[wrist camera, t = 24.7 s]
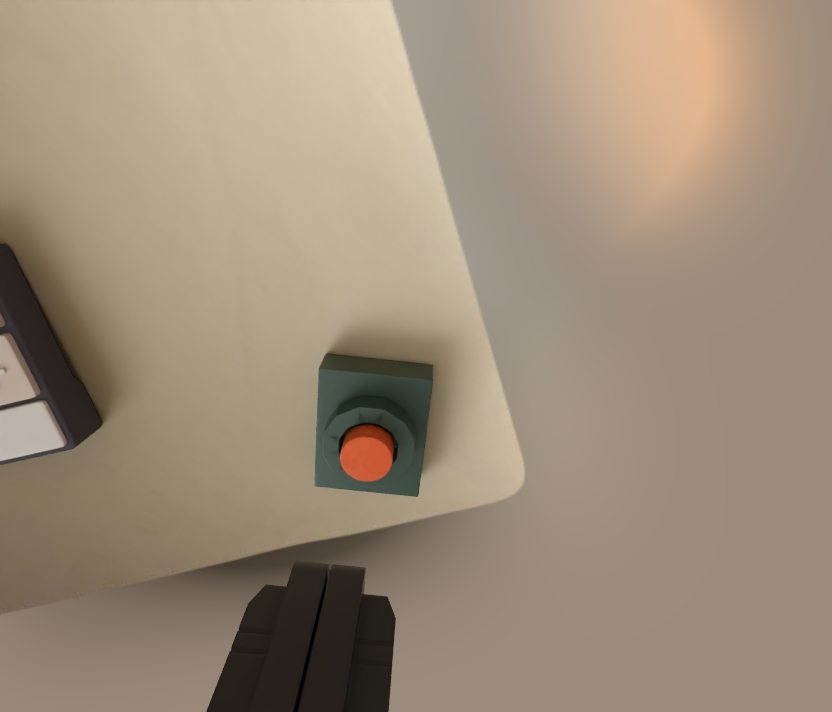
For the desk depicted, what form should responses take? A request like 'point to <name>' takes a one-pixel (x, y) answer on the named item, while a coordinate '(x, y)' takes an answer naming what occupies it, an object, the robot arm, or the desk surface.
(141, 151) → the desk surface
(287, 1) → the desk surface
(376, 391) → the control block
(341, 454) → the orange button
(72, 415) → the calculator
